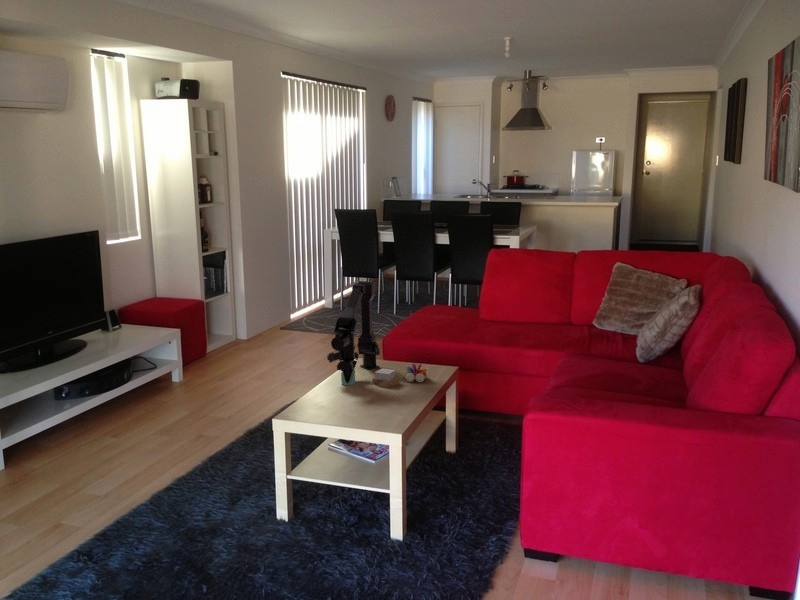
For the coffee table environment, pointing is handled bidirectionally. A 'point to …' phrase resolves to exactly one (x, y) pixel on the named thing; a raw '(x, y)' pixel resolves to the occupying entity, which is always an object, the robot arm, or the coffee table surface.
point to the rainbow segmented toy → (415, 374)
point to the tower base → (386, 382)
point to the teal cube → (351, 381)
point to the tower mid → (385, 374)
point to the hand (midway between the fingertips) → (348, 380)
